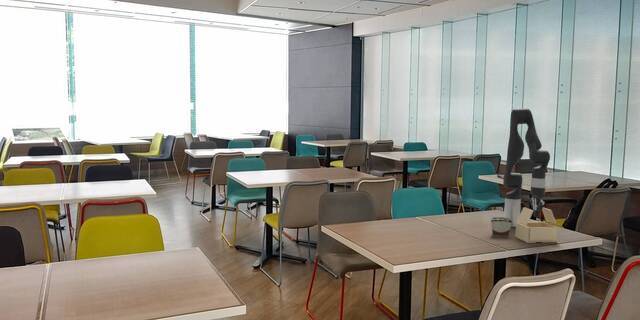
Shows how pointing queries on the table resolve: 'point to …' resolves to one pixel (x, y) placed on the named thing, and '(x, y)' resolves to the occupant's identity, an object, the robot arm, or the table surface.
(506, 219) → the food container
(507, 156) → the robot arm
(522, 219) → the flap front
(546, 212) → the flap back
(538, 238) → the carton
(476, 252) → the table surface
